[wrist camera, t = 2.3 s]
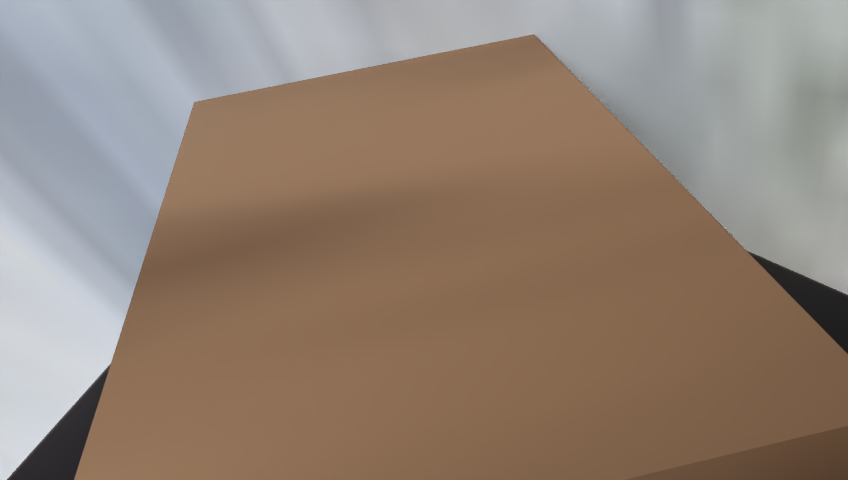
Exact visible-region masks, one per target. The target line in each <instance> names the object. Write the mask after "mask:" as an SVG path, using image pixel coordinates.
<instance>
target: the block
mask: <svg viewBox="0 0 848 480" xmlns="http://www.w3.org/2000/svg"><path fill="white" fill-rule="evenodd" d="M74 480H848V354H847V353H846V352H845V351H844V350H843V349H842V348H841V347H840V346H839V345H838V344H837V343H836V342H835V341H834V340H833V339H832V338H831V337H830V336H829V335H828V334H827V333H826V332H825V331H824V329H823V328H822V327H821V326H820V325H819V324H818V323H817V322H816V321H815V320H814V319H813V318H812V317H811V316H810V315H809V314H808V313H807V312H806V311H805V310H804V309H803V308H802V307H801V306H800V305H799V304H798V303H797V302H796V301H795V300H794V299H793V298H792V297H791V296H790V295H789V294H788V293H787V292H786V291H785V290H784V289H783V288H782V287H781V286H780V285H779V284H778V283H777V282H776V281H775V279H774V278H773V277H772V276H771V275H770V274H769V273H768V272H767V271H766V270H765V269H764V268H763V267H762V266H761V265H760V264H759V263H758V262H757V261H756V260H755V259H754V258H753V257H752V256H751V255H750V254H749V253H748V252H747V251H746V250H745V249H744V248H743V247H742V246H741V245H740V244H739V243H738V242H737V241H736V240H735V239H734V238H733V237H732V236H731V235H730V234H729V233H728V232H727V231H726V230H725V228H724V227H723V226H722V225H721V224H720V223H719V222H718V221H717V220H716V219H715V218H714V217H713V216H712V215H711V214H710V213H709V212H708V211H707V210H706V209H705V208H704V207H703V206H702V205H701V204H700V203H699V202H698V201H697V200H696V199H695V198H694V197H693V196H692V195H691V194H690V193H689V192H688V191H687V190H686V189H685V188H684V187H683V186H682V185H681V184H680V183H679V182H678V181H677V180H676V178H675V177H674V176H673V175H672V174H671V173H670V172H669V171H668V170H667V169H666V168H665V167H664V166H663V165H662V164H661V163H660V162H659V161H658V160H657V159H656V158H655V157H654V156H653V155H652V154H651V153H650V152H649V151H648V150H647V149H646V148H645V147H644V146H643V145H642V144H641V143H640V142H639V141H638V140H637V139H636V138H635V137H634V136H633V135H632V134H631V133H630V132H629V131H628V130H627V128H626V127H625V126H624V125H623V124H622V123H621V122H620V121H619V120H618V119H617V118H616V117H615V116H614V115H613V114H612V113H611V112H610V111H609V110H608V109H607V108H606V107H605V106H604V105H603V104H602V103H601V102H600V101H599V100H598V99H597V98H596V97H595V96H594V95H593V94H592V93H591V92H590V91H589V90H588V89H587V88H586V87H585V86H584V85H583V84H582V83H581V82H580V81H579V80H578V78H577V77H576V76H575V75H574V74H573V73H572V72H571V71H570V70H569V69H568V68H567V67H566V66H565V65H564V64H563V63H562V62H561V61H560V60H559V59H558V58H557V57H556V56H555V55H554V54H553V53H552V52H551V51H550V50H549V49H548V48H547V47H546V46H545V45H544V44H543V43H542V42H541V41H540V40H539V39H538V38H537V37H536V36H535V35H529V36H524V37H519V38H514V39H509V40H504V41H499V42H494V43H489V44H484V45H479V46H474V47H469V48H464V49H459V50H453V51H448V52H443V53H438V54H433V55H428V56H423V57H418V58H413V59H408V60H403V61H398V62H393V63H388V64H383V65H378V66H373V67H368V68H363V69H358V70H353V71H348V72H343V73H338V74H333V75H328V76H323V77H318V78H313V79H308V80H303V81H298V82H293V83H288V84H283V85H278V86H273V87H268V88H263V89H258V90H253V91H248V92H243V93H238V94H233V95H228V96H223V97H218V98H213V99H208V100H203V101H198V102H194V105H193V108H192V111H191V114H190V118H189V121H188V124H187V127H186V130H185V133H184V136H183V139H182V143H181V146H180V149H179V152H178V155H177V158H176V161H175V165H174V168H173V171H172V174H171V177H170V180H169V183H168V187H167V190H166V193H165V196H164V199H163V202H162V205H161V209H160V212H159V215H158V218H157V221H156V224H155V227H154V230H153V234H152V237H151V240H150V243H149V246H148V249H147V252H146V256H145V259H144V262H143V265H142V268H141V271H140V274H139V278H138V281H137V284H136V287H135V290H134V293H133V296H132V300H131V303H130V306H129V309H128V312H127V315H126V318H125V321H124V325H123V328H122V331H121V334H120V337H119V340H118V343H117V347H116V350H115V353H114V356H113V359H112V362H111V365H110V369H109V372H108V375H107V378H106V381H105V384H104V387H103V391H102V394H101V397H100V400H99V403H98V406H97V409H96V412H95V416H94V419H93V422H92V425H91V428H90V431H89V434H88V438H87V441H86V444H85V447H84V450H83V453H82V456H81V460H80V463H79V466H78V469H77V472H76V475H75V478H74Z"/></svg>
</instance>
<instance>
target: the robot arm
mask: <svg viewBox="0 0 848 480" xmlns="http://www.w3.org/2000/svg"><path fill="white" fill-rule="evenodd" d="M747 252H748V251H747ZM748 253H749V254H750V255H751V256H752V257H753V258H754V259H755V260H756V261H757V262H758V263H759V264H760V265H761V266H762V267H763V268H764V269H765V270H766V271H767V272H768V273H769V274H770V275H771V276H772V277H773V278H774V279H775V281H776V282H777V283H778V284H779V285H780V286H781V287H782V288H783V289H784V290H785V291H786V292H787V293H788V294H789V295H790V296H791V297H792V298H793V299H794V300H795V301H796V302H797V303H798V304H799V305H800V306H801V307H802V308H803V309H804V310H805V311H806V312H807V313H808V314H809V315H810V316H811V317H812V318H813V319H814V320H815V321H816V322H817V323H818V324H819V325H820V326H821V327H822V328H823V329H824V331H825V332H826V333H827V334H828V335H829V336H830V337H831V338H832V339H833V340H834V341H835V342H836V343H837V344H838V345H839V346H840V347H841V348H842V349H843V350H844V351H845V352H846V353H847V354H848V295H846V294H844V293H842V292H840V291H837V290H835V289H833V288H830V287H828V286H826V285H824V284H821V283H819V282H817V281H814V280H812V279H810V278H808V277H805V276H803V275H801V274H799V273H796V272H794V271H792V270H789V269H787V268H785V267H783V266H780V265H778V264H776V263H773V262H771V261H769V260H767V259H764V258H762V257H760V256H757V255H755V254H753V253H751V252H748ZM110 365H111V364H110ZM110 365H109V366H108V367H107V368H106V370H105V371H104V372H103V373H102V374H101V375H100V376H99V377H98V379H97V380H96V381H95V382H94V383H93V384H92V385H91V386H90V387H89V389H88V390H87V391H86V392H85V393H84V394H83V395H82V396H81V397H80V399H79V400H78V401H77V402H76V403H75V404H74V405H73V406H72V408H71V409H70V410H69V411H68V412H67V413H66V414H65V415H64V416H63V418H62V419H61V420H60V421H59V422H58V423H57V424H56V425H55V427H54V428H53V429H52V430H51V431H50V432H49V433H48V434H47V435H46V437H45V438H44V439H43V440H42V441H41V442H40V443H39V444H38V446H37V447H36V448H35V449H34V450H33V451H32V452H31V453H30V454H29V456H28V457H27V458H26V459H25V460H24V461H23V462H22V463H21V465H20V466H19V467H18V468H17V469H16V470H15V471H14V472H13V473H12V475H11V476H10V477H9V478H8V479H7V480H74V478H75V475H76V472H77V469H78V466H79V463H80V460H81V456H82V453H83V450H84V447H85V444H86V441H87V438H88V434H89V431H90V428H91V425H92V422H93V419H94V416H95V412H96V409H97V406H98V403H99V400H100V397H101V394H102V391H103V387H104V384H105V381H106V378H107V375H108V372H109V369H110Z"/></svg>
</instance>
